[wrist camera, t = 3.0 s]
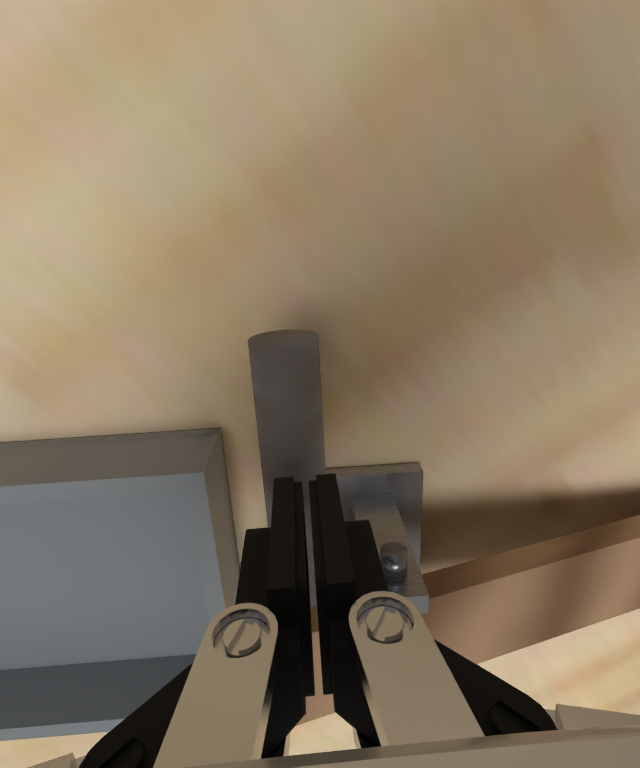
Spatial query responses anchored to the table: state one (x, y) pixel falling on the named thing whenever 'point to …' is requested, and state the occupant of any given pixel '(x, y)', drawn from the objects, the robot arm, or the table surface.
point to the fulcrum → (389, 520)
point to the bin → (107, 573)
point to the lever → (456, 583)
